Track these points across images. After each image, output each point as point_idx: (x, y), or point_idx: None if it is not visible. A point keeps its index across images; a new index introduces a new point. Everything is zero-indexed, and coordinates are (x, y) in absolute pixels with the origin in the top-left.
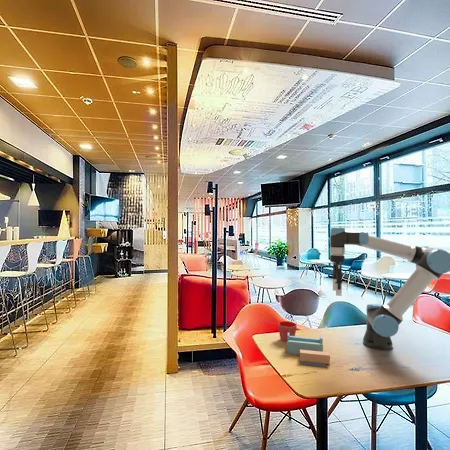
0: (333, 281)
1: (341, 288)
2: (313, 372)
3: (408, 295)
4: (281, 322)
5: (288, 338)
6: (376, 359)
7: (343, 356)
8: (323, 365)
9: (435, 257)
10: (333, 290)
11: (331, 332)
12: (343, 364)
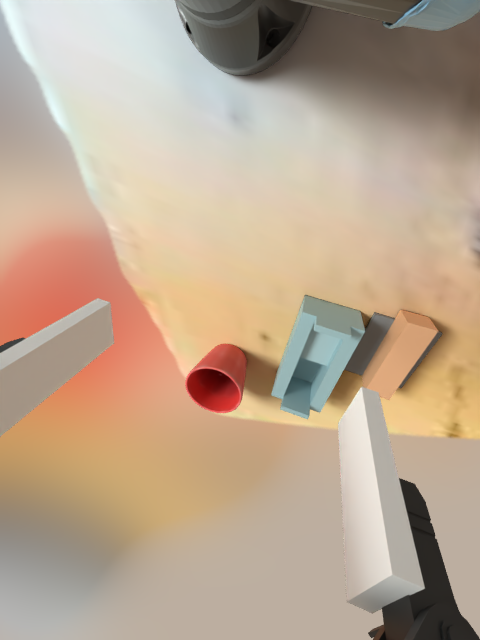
0: (24, 411)
1: (397, 479)
2: (460, 375)
3: None
4: (194, 396)
5: (309, 410)
6: (427, 90)
7: (367, 239)
8: (434, 339)
9: None
10: (113, 339)
11: (132, 190)
12: (434, 269)
